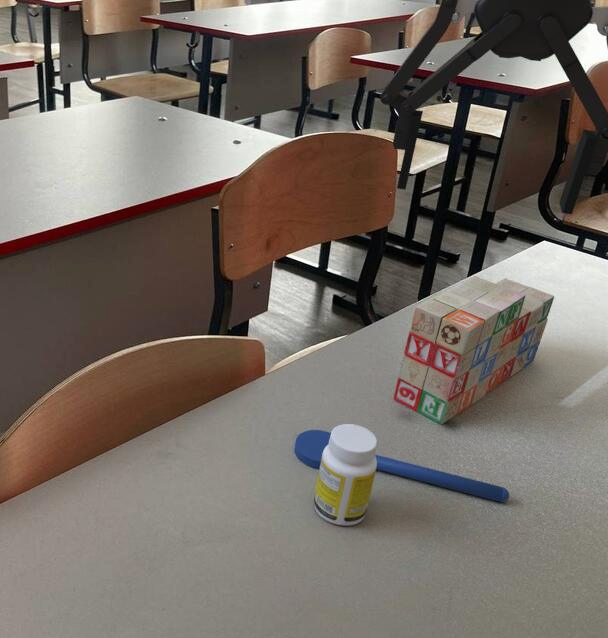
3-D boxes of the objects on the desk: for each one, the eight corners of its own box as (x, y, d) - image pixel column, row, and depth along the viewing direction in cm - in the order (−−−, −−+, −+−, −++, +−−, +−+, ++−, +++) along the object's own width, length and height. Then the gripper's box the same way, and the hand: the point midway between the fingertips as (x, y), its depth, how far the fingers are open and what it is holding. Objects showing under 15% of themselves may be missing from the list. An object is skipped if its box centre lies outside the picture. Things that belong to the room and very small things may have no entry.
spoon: (506, 485, 74) (510, 474, 74) (507, 520, 70) (512, 508, 69) (299, 432, 81) (301, 421, 80) (289, 461, 76) (291, 450, 76)
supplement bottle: (365, 497, 72) (382, 426, 68) (365, 532, 68) (383, 459, 64) (314, 487, 73) (328, 416, 69) (310, 520, 69) (325, 448, 65)
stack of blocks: (486, 341, 98) (513, 254, 92) (534, 362, 94) (565, 273, 88) (391, 399, 86) (415, 304, 80) (441, 426, 82) (470, 328, 76)
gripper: (378, -77, 58) (333, 187, 69) (765, -60, 50) (648, 235, 61) (388, -79, 64) (345, 164, 75) (734, -64, 56) (632, 204, 67)
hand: (481, 196), depth 68 cm, fingers open, 13 cm apart
